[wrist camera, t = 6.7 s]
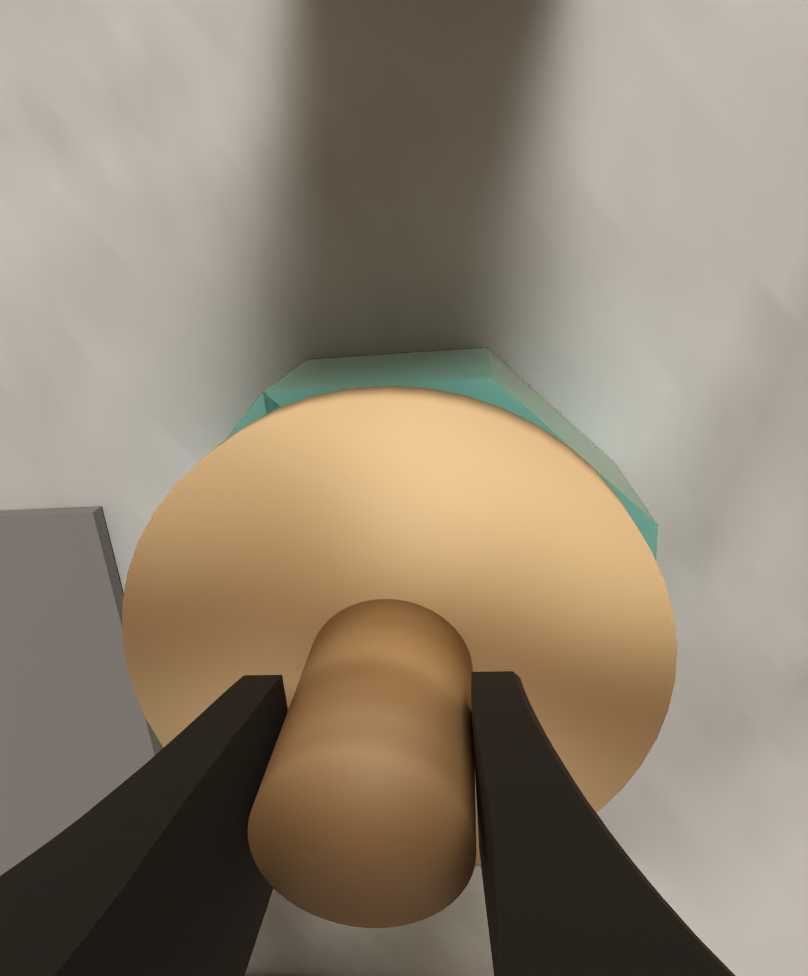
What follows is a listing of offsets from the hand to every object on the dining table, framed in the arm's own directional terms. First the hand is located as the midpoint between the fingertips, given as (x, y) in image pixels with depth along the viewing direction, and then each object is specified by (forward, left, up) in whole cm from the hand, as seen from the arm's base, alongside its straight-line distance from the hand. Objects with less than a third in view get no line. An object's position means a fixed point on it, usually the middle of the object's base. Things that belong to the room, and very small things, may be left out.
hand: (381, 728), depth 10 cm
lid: (0, 0, -2) cm, 2 cm away
